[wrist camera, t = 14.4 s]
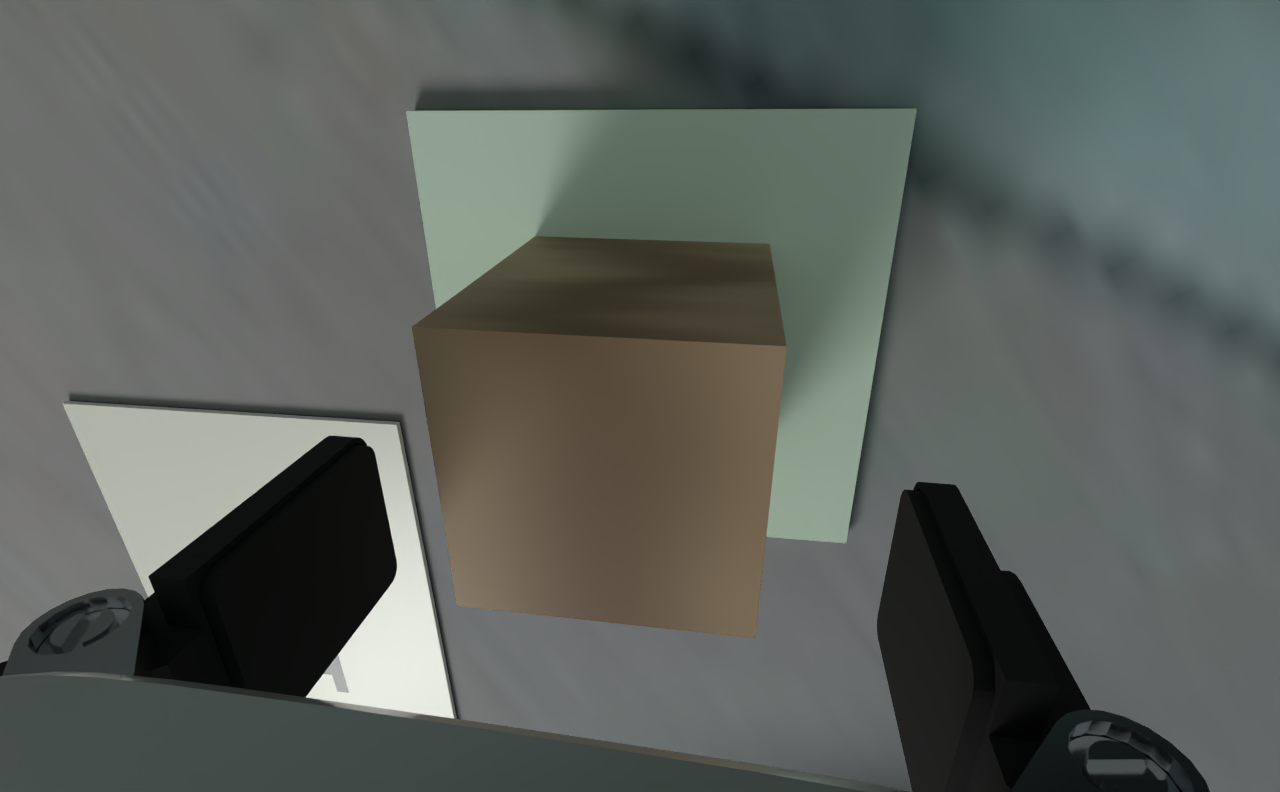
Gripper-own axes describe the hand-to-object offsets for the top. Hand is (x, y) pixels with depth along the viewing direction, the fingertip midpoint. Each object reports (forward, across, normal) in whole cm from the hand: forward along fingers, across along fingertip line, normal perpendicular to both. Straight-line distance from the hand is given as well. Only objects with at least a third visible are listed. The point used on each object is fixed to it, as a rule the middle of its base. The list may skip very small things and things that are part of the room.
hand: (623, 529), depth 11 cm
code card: (+8, +15, +10) cm, 19 cm away
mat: (+8, +1, -1) cm, 8 cm away
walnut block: (+7, +1, -1) cm, 7 cm away
